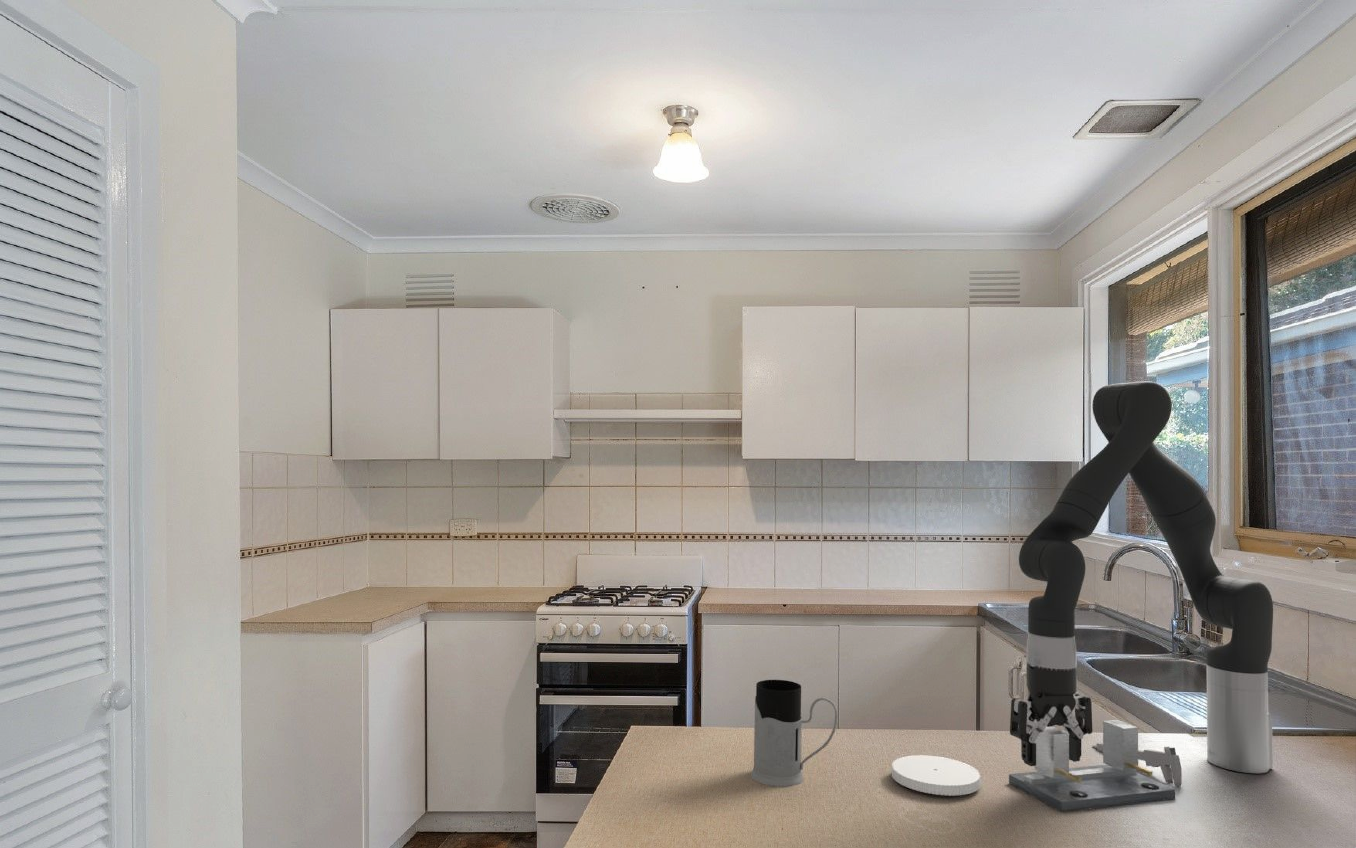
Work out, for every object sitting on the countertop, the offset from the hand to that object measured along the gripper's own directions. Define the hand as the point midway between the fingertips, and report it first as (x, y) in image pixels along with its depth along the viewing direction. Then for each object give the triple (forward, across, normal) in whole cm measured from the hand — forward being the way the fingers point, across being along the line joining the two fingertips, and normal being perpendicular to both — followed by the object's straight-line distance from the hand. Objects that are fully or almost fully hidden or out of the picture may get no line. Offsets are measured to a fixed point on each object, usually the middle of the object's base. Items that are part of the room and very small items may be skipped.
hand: (1051, 762), depth 137 cm
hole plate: (+4, -6, +2) cm, 8 cm away
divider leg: (+2, 0, +2) cm, 3 cm away
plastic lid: (+5, +17, -7) cm, 19 cm away
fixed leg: (+2, -14, +2) cm, 14 cm away
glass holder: (+4, +39, -14) cm, 42 cm away
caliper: (+5, -23, -6) cm, 24 cm away
